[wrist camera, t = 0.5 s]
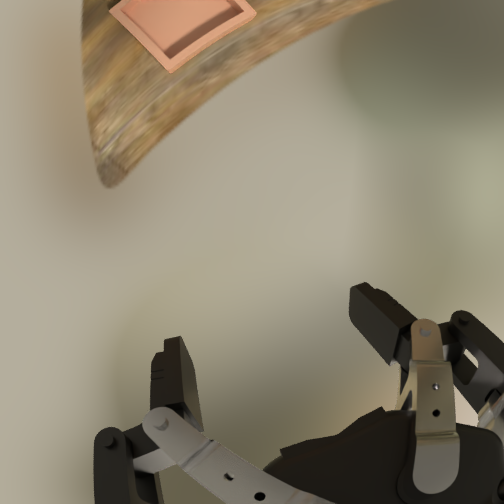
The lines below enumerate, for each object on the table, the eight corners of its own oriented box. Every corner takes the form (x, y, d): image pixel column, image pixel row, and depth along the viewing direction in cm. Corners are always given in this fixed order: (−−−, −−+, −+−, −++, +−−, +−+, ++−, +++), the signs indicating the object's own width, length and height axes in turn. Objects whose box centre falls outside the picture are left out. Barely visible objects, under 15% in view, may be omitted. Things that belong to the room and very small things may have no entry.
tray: (115, 17, 19) (108, 11, 17) (194, -36, 17) (194, -46, 14) (170, 73, 26) (168, 71, 23) (252, 19, 23) (257, 13, 21)
